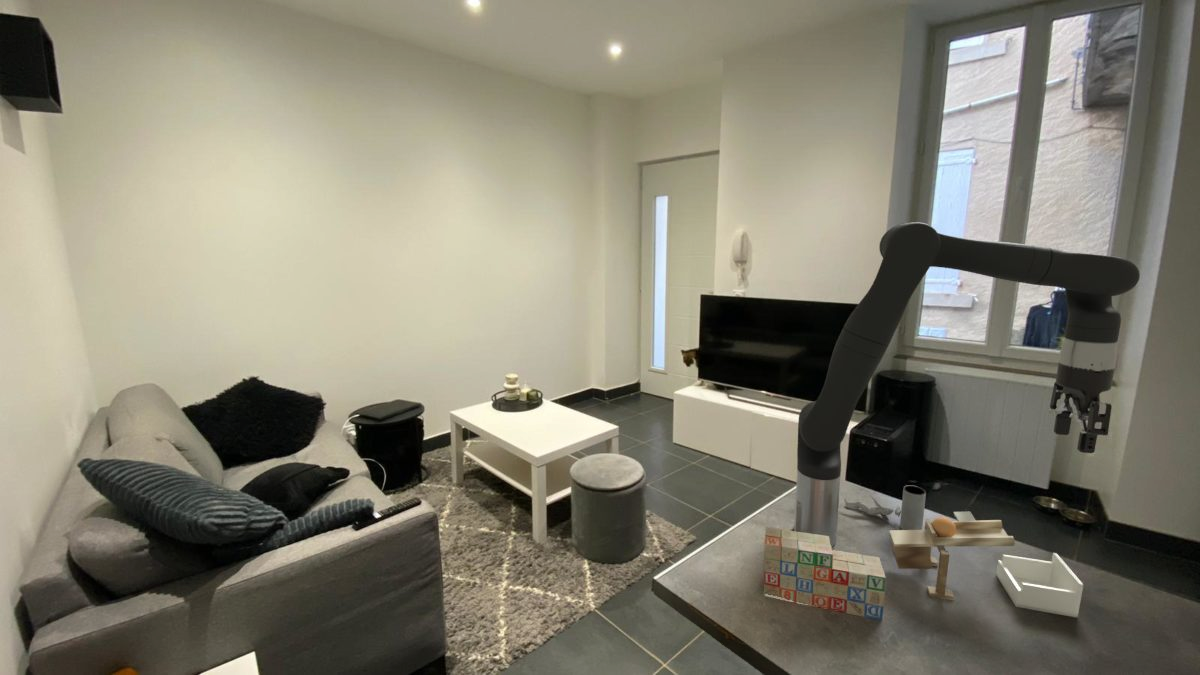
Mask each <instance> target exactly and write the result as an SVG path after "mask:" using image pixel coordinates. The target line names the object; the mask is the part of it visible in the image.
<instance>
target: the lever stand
mask: <svg viewBox="0 0 1200 675" xmlns="http://www.w3.org/2000/svg"><path fill="white" fill-rule="evenodd" d="M929 521H930V522H933V520H929ZM925 522H926V520H925ZM925 522H924V530H927V529H926V523H925ZM931 551H932V547H929V552H930V555H931V554H932V552H931ZM930 558H931V564H932V567H937V575H936V576H937V577H936V582H935V586H931V585H930V586H929V585H926V591H927V593H928V595H929V597H932V598H938V599H942V600H947V601H954V599H955V596H954V594H953V592H952V590H951V589H946V587H947V580H948V579H947V578H948V571H949V570H948V569H949V561H950V553H949V551H948V550H946V551H945V550H940V552H939V557H938V558H939V559H938V560H937V559H936V558H937V557H935V556H930Z"/></svg>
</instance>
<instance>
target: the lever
mask: <svg viewBox="0 0 1200 675" xmlns="http://www.w3.org/2000/svg"><path fill="white" fill-rule="evenodd" d="M953 515H954V517H955V518H956V520H951V521H952V522H953V523H954V524H955V526H956V533H955V535H954V536H952V537H940V536H938V535H937V534H936V532H935V531H934V529H933V527H932V522H933V521H932V522H930V521H931V520H930V519H929V518H926V519H925V521H926V522H924V524H925V523H926V529H927V530H925V529H922V530H903V529H897V530H895V529H894V530H892V529H891V530H889V536H890V542H891V548H892V552H893V556H894V560H895V562H896V565H897V568H898V569H904V570H905V569H906V570H911V569H912V570H914V569H915V570H916V569H917V570H925V569H926V570H933V566H932V564H931V558H930V557H931V554H930V552H929V547H931V548H932V547H933V548H935V547H936V548H937V550H938V552H939V553H940V550H945V551H947V550H946V548H945V547H1015V545H1016V543H1015V537H1014V535H1008V534H1007V531H1006V530H1005V529H1004V528H1003V522H1002V520H1001V519H989V520H988V519H987V520H986V519H985V520H984V519H982V520H980V519H979V520H977V519H976V518H975V517H974V515H973V513H972V512H971V511H969V510H968V511H953Z"/></svg>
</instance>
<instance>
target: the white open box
mask: <svg viewBox="0 0 1200 675" xmlns="http://www.w3.org/2000/svg"><path fill="white" fill-rule="evenodd" d="M1001 556H1002V557H1001V560H1000V559H998V560H997V567H996V573H995V575H996V577H997V578H998V581H999V582H1000V584H1001V585H1002V587H1003V588H1004V590H1005V591H1006V593H1007V594H1008V596H1009V598H1010V600H1011V601H1012V602H1013V604H1014V605H1015V607H1017V608H1021V609H1027V610H1031V611H1032V610H1033V611H1039V612H1044V613H1051V614H1054V615H1055V614H1056V615H1060V616H1067V617H1072V618H1079V611H1080V605H1081V601H1082V595H1083V594H1082V593H1083V589H1084V584H1083V582H1082V581H1081V580H1080V579H1079V577H1078V576H1077V575H1076V574H1075V573H1074V572H1073V571H1072V569H1071V568H1070V567H1069V565H1067V563H1066V562H1065V561H1064V560H1063V558H1062V557H1060V556H1059V554H1058V553H1057V552H1052V555H1051V556H1052V558H1051V561H1050V560H1042V559H1036V558H1030V557H1024V556H1016V555H1010V554H1003V553H1002V555H1001Z"/></svg>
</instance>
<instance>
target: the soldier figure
mask: <svg viewBox="0 0 1200 675" xmlns="http://www.w3.org/2000/svg"><path fill="white" fill-rule="evenodd" d="M869 497H870V498H871V499H872V500H873V502H874V505H873V506H871V505H870V507H869V506H868V505H867V504H866V503H864V502H863V501H860V500H857V501H849V500H847V497H845V498H844V502H845V506H846V507H847V509H861V510H862V511H863V512H865V513H866V515H869V516H873V517H874V516H878V515H883V516H884V515H885V516H889V515H891V514H892V513H894V515H895V516H897V517H898V518H899V517H901V507H900V506H899V504H897V505H896V507H895V506H894V507H893V508H892V507H891V506H888V505H882V504H881V503H880V502H878V500H877V499H876V498H875V497H874V495H872V494H870V495H869Z"/></svg>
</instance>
